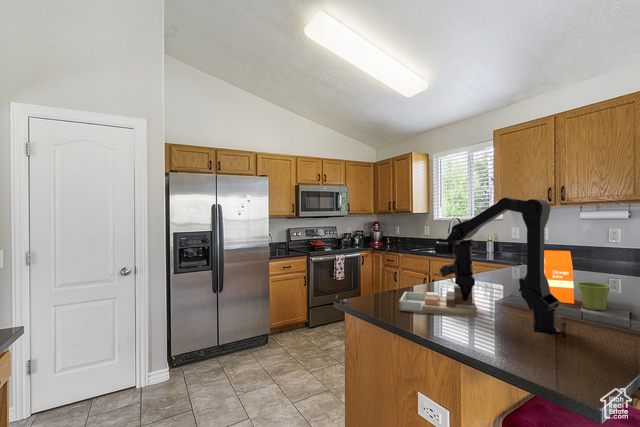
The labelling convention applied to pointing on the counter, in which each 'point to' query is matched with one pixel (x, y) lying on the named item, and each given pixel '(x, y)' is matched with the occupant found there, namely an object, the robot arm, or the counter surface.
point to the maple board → (450, 308)
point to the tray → (411, 301)
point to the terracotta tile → (431, 300)
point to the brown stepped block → (457, 298)
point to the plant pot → (594, 295)
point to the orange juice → (559, 274)
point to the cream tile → (433, 294)
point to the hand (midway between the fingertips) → (464, 299)
